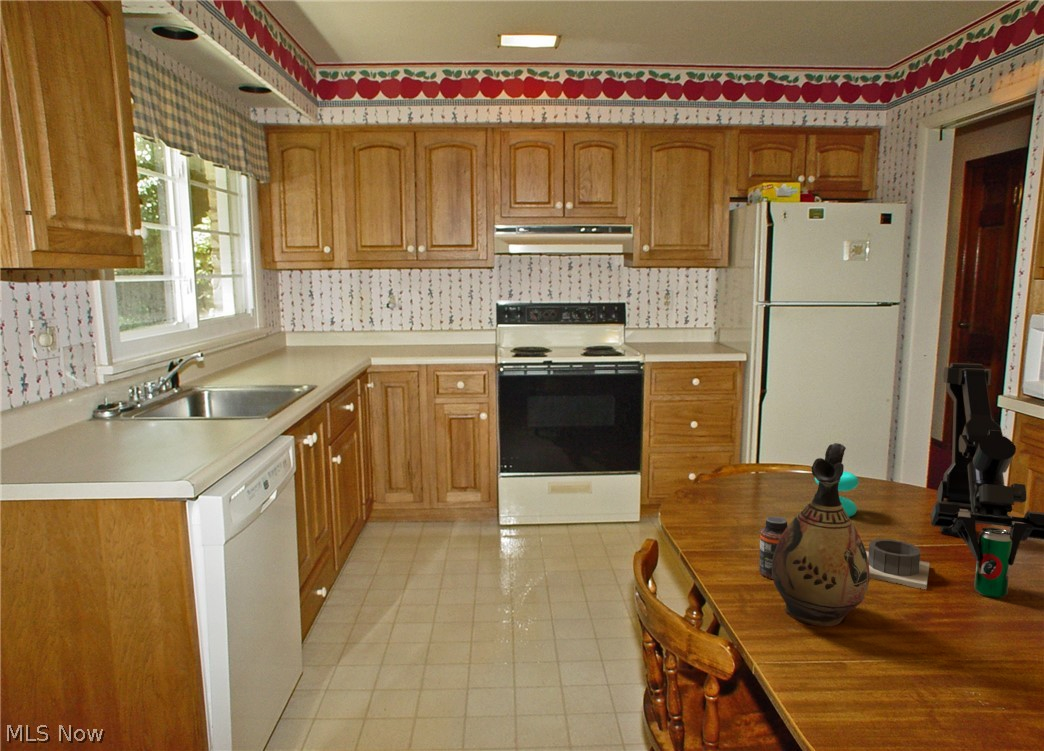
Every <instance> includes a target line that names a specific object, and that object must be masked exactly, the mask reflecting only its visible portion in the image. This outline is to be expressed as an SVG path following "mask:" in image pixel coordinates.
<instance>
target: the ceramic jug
mask: <svg viewBox="0 0 1044 751" xmlns="http://www.w3.org/2000/svg"><path fill="white" fill-rule="evenodd" d="M845 450H846V447H845V446H844V444H841V443H839V442H838V443H837V442H835V443H833V444H829V445H828V447H827V448H826V451H825V454H824V456H825V458H820V457H819V458H815V460H814V461H813V464H812V466H811V473H812V476H813V477H814V479H815V478H816V479H817V480H818V481H819V485H818V487H817V491H816V493H815V494H814V497H813V499H812V500H811V501H810V502H809V503H808V504H807V505H806V506H804V507H803V508H802V510H801V511H800V512H798V513H797V515H796V516H795V517H794V518H793V519H792V520H791V521H790V523H789V524H787V528H786V529H785V531H784V532H783V534H782V535H781V537H780V539H779V541H778V543H777V546H776V549H775V552H774V555H773V559H772V576H773V579H772V580H773V584H774V586H775V588H776V591H777V592H778V593H779V595H780V597H781V598H782V599H783V601H784V603H785V609H784V611H785V613H786V614H787V615H789V616H791V617H792V618H794V619H795V620H796V621H798V622H800V623H802V624H806V625H808V626H811V625H812V626H813V625H816V626H818V627H834V626H836V625H839V624H840V623H841V622H842V621H843V619H844V618H845V617H846V616H847V615H848V614H849V613H850V612H852V611H853V610H854V609H855V608H857V606H859V605H860V604H861V603H862V602H863V601H864V599H865V597H866V596H865V595H866V593H867V591H868V589H869V584H870V579H871V578H870V573H869V561H868V558H867V553H866V551H867V550H866V548H865V545H864V543H863V539H861V536H860V535H859V532H858V531H857V528H856V527H855V525H854V522H852V520H851V518H850V517H849V516H848V515H847V513H846V512H845V510H844V508H843V507H842V503H841V502H840V499H839V496H840V495H839V491H838V484H839V482H840V478H841V476H842V475H843V471H844V468H845V467H844V466H845V465H844V464H843V459H844V455H845Z"/></svg>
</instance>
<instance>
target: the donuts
mask: <svg viewBox="0 0 1044 751" xmlns="http://www.w3.org/2000/svg"><path fill="white" fill-rule="evenodd" d="M814 482H815V483H816V484H817V485H818V486H819V481H818V480H817V479H816V478H815V477H814ZM859 483H860V482H859V478H858V476H856V475H855V474H854V473H852V472H848V471H845V470H843V475H842V476H841V478H840V482H839V484H838V492H848V491H851V490H855V489H856V488H857V487H858V486H859ZM839 499H840V502H841V503H842V507H843V508H844V510H845V512H846V513H847V515H848V516H849V518H850V517H852V516H854V515H856V513H857V511H858V506H857V505H856V503H854V502H853V501H852V500H851V499H850V498H847V497H845V496H840V495H839Z"/></svg>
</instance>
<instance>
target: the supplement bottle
mask: <svg viewBox="0 0 1044 751" xmlns="http://www.w3.org/2000/svg"><path fill="white" fill-rule="evenodd" d="M787 527H788V520H787V519H786V518H784V517H782V516H767V517H766V518H765V526H764V527H763V528H761V530H760V536H759V538H760V539H759V564H758V565H759V566H758V571H759V573H760V574H761V575H762V576H763V577H765V578H769V579H772V580H774V579H773V576H772V559H773V555H774V552H775V549H776V546H777V543H778V541H779V539H780V537H781V535H782V534H783V532H784V531H785V529H786V528H787Z"/></svg>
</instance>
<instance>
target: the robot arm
mask: <svg viewBox="0 0 1044 751" xmlns="http://www.w3.org/2000/svg"><path fill="white" fill-rule="evenodd" d="M991 375H992V369H991V368H986V367H984V366H983V364H982V363H969V362H968V363H966V362H950V364H949V366H948V367H947V366H945V367H944V369H943V376H942V378H943V382H944V383H945V391H946V393H948V395H949V397H950V398H951V399H952V401H953V409H952V410H953V411H952V412H953V417H952V421H953V422H952V446H951V447H952V448H951V449H952V451H951V454H952V455H951V464H950V466H949V467H948V468H947V469H946V471H945V472H944V473H943V480H941V481H940V484H939V486H938V489H937V492H936V502H935V503H934V505H933V507H932V510H931V513H930V514H931V515H930V520H931V521H930V523H931V524H930V525H932V526H933V527H936V528H937V527H939V528H940V534H943V535H949V536H956V537H960V538H961V539H962V540H963V541H964V543H965V545H967V547H968V549H969V550H970V552H971V554H972V555H973V557H974V560H976V562H977V561H980V548H979V543H978V542H979V538H978V535H977V529H976V524H984V525H992V526H993V525H994V526H1003V527H1008V528H1009V532H1010V533H1011V538H1012V539H1013V544H1012V553H1011V558H1010V566H1013V565H1014V563H1015V560H1016V557H1017V553H1018V549H1019V546H1020V543H1021V541H1022V542H1023V541H1027V540H1028V538H1029V539H1036V540H1037V539H1038V540H1044V512H1040V511H1039V512H1038V511H1032V510H1027V511H1026V513H1025V514H1024V516H1023V517H1020V516H1014V515H1013V516H1011V515H1009V513H1011V512H1012V510H1013V506H1014V505H1015V503H1020V504H1021V503H1025V502H1026V501H1027V489H1026V484H1024V483H1013V484H1011V485H1010V486H1008V485H1007V486H1006V485H1005V479H1004V474H1005V473H1006V472H1007V471H1008V470H1009V467H1010V465H1011V463H1012V460H1013V458H1014V457H1015V454H1016V453H1017V452H1016V450H1017V447H1016V445H1015V444H1014V442H1013V441H1012V440H1011V439H1010V438H1008V437H1007V436H1004V435H1003V431H1002V427H1001V426H1000V425H999V424H998V423H997V422H995V420H994V419H993V416H992V409H991V403H990V402H991V401H990V396H989V389H988V386H990V385H991Z"/></svg>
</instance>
